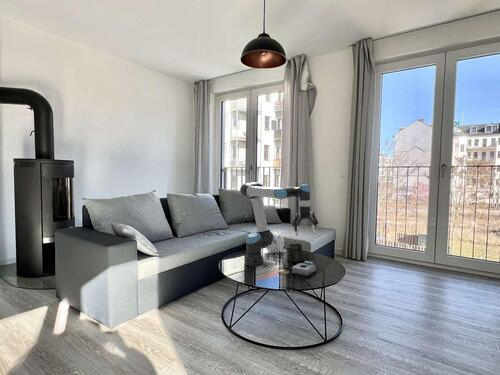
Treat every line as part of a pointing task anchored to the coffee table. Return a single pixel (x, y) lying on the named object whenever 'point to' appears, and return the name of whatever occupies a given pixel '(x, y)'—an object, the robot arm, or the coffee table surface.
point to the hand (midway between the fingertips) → (305, 234)
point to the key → (284, 258)
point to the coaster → (283, 271)
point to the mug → (295, 252)
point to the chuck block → (304, 268)
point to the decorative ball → (278, 245)
